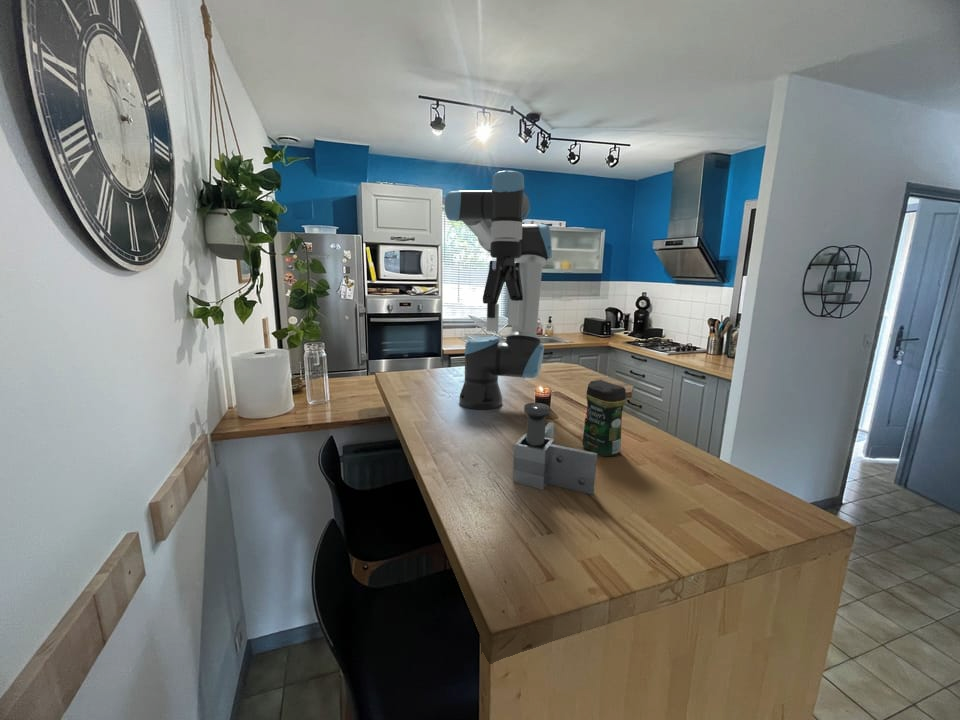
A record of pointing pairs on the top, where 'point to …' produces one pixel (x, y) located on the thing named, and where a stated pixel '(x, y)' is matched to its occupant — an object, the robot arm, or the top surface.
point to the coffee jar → (604, 418)
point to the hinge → (554, 465)
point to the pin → (536, 423)
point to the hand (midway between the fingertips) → (503, 328)
